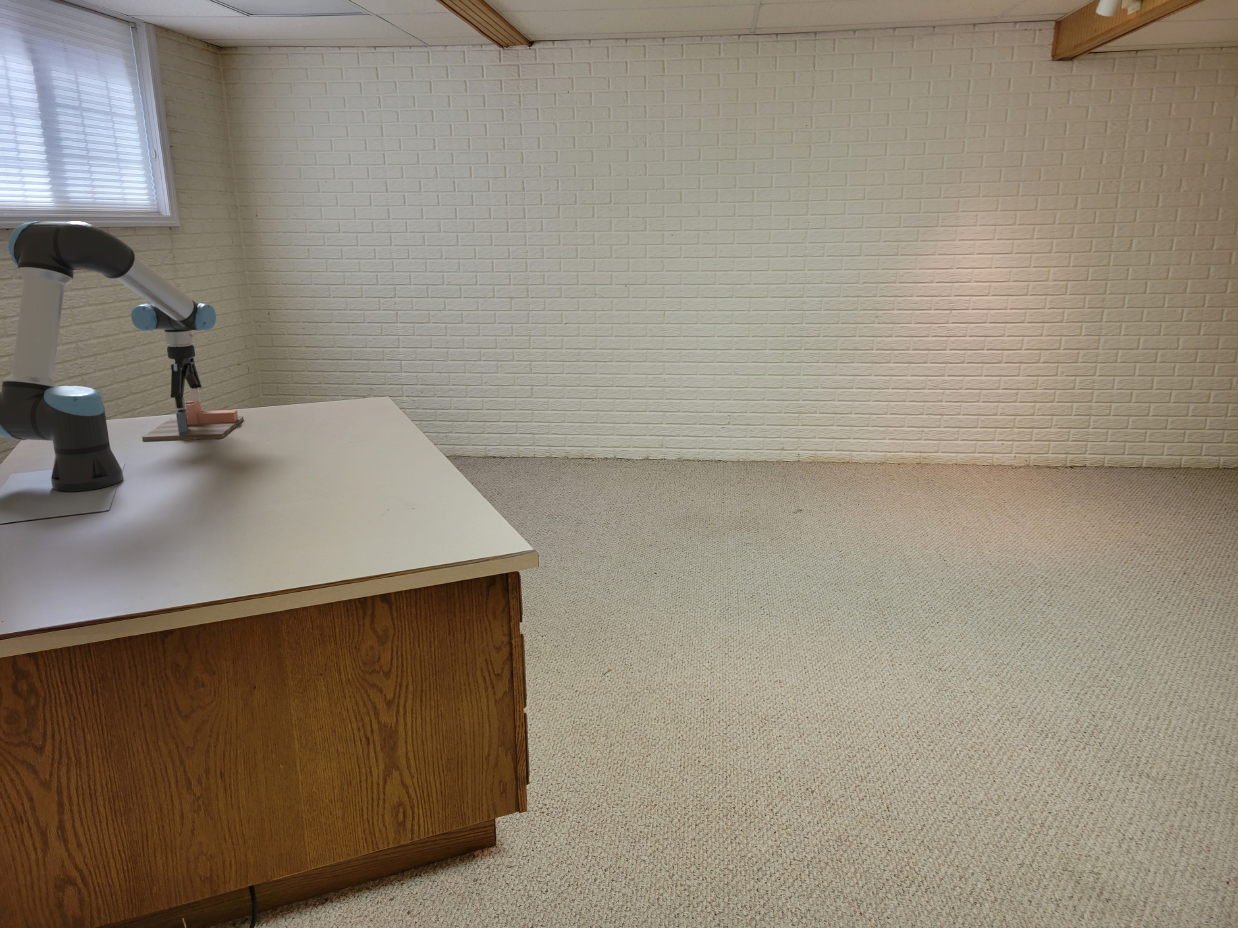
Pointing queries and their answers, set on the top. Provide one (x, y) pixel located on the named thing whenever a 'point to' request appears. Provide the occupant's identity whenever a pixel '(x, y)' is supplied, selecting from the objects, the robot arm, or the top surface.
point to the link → (208, 414)
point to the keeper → (182, 421)
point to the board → (191, 431)
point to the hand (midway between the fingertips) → (189, 413)
